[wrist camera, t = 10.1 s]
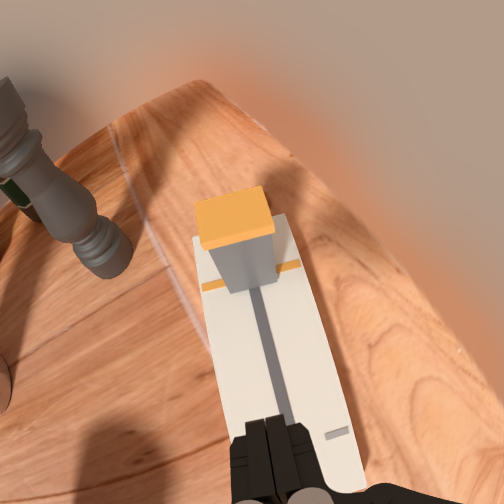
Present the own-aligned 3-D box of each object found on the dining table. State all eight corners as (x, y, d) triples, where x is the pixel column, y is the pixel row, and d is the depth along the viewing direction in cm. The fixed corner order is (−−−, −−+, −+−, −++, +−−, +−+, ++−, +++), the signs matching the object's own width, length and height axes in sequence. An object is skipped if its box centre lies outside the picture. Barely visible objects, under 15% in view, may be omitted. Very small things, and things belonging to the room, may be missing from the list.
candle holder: (93, 242, 36) (-25, 100, 14) (132, 229, 36) (22, 64, 14) (91, 284, 33) (-56, 143, 11) (133, 272, 33) (-11, 102, 11)
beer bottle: (39, 193, 44) (-34, 100, 23) (69, 182, 43) (-4, 75, 22) (27, 229, 40) (-60, 134, 19) (58, 219, 39) (-33, 108, 19)
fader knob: (280, 283, 27) (274, 224, 19) (228, 296, 27) (200, 243, 19) (270, 251, 29) (261, 185, 21) (222, 264, 29) (194, 202, 21)
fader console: (361, 480, 20) (367, 487, 18) (254, 507, 20) (250, 516, 18) (285, 226, 34) (284, 212, 31) (198, 248, 34) (191, 236, 31)
